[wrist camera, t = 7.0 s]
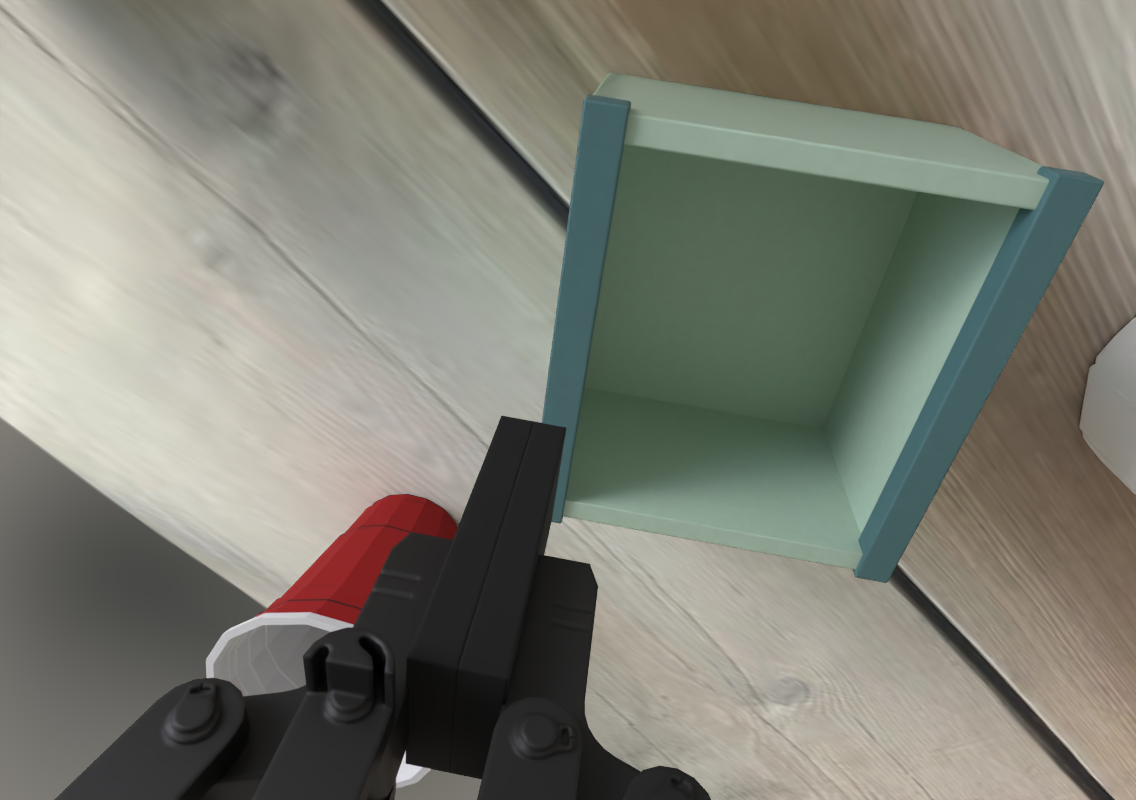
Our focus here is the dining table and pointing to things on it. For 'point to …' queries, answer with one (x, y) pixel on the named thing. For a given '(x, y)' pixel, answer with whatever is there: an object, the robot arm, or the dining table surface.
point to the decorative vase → (1113, 406)
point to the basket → (786, 315)
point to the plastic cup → (324, 603)
